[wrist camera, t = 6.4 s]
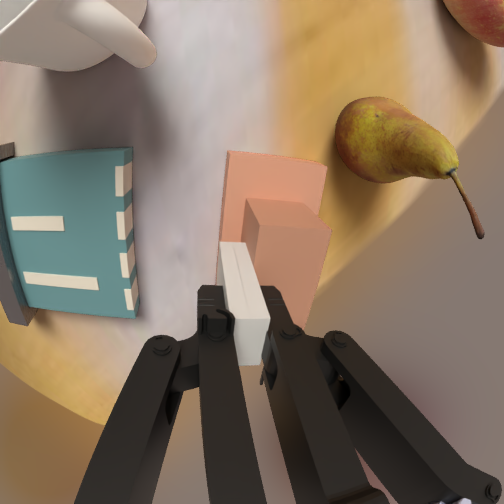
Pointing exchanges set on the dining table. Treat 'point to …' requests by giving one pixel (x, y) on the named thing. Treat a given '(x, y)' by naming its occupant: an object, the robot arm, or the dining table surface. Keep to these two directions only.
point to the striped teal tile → (73, 229)
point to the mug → (73, 33)
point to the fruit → (395, 146)
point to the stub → (277, 223)
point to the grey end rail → (11, 268)
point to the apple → (480, 18)
